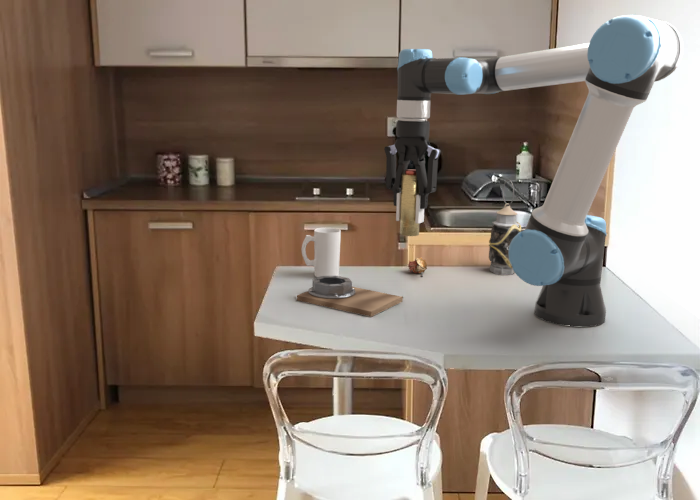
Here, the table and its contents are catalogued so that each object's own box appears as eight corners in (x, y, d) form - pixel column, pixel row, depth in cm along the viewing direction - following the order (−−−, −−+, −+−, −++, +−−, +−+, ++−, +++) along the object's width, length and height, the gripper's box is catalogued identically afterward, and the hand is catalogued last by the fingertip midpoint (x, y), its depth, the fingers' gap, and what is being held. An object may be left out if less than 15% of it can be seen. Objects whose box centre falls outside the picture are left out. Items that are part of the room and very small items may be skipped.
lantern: (522, 275, 204) (530, 181, 199) (494, 276, 203) (501, 182, 197) (509, 267, 213) (516, 177, 207) (481, 268, 211) (488, 177, 205)
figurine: (399, 269, 208) (399, 253, 207) (416, 267, 210) (416, 251, 209) (421, 282, 196) (421, 265, 195) (439, 280, 197) (439, 263, 196)
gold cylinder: (422, 233, 180) (424, 169, 177) (413, 236, 177) (415, 171, 173) (405, 231, 183) (407, 168, 179) (396, 234, 179) (398, 170, 176)
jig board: (402, 301, 178) (402, 296, 178) (371, 316, 167) (371, 311, 166) (330, 287, 189) (331, 282, 188) (296, 300, 177) (296, 295, 177)
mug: (336, 271, 203) (337, 227, 200) (342, 278, 197) (343, 232, 194) (298, 273, 200) (299, 228, 198) (303, 280, 194) (304, 233, 191)
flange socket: (364, 291, 182) (364, 279, 181) (338, 302, 173) (338, 289, 172) (325, 283, 187) (326, 272, 187) (298, 293, 178) (299, 281, 178)
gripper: (455, 120, 172) (450, 223, 178) (388, 117, 182) (385, 215, 187) (440, 121, 166) (436, 228, 171) (371, 118, 175) (369, 219, 180)
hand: (409, 221), depth 179 cm, fingers closed on gold cylinder, 4 cm apart
